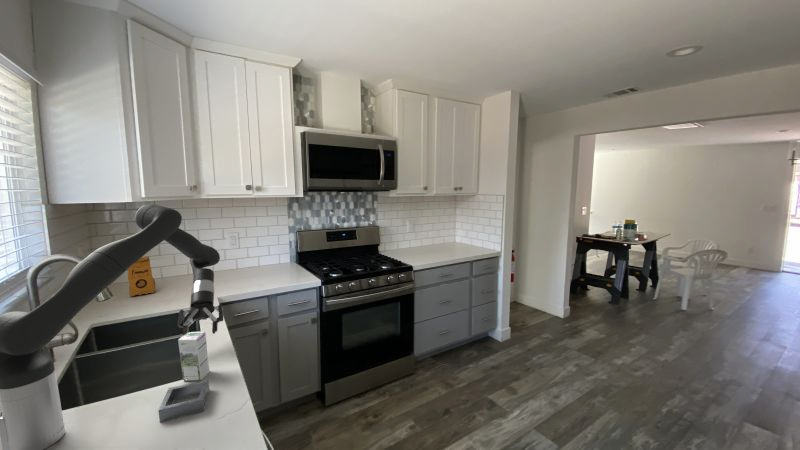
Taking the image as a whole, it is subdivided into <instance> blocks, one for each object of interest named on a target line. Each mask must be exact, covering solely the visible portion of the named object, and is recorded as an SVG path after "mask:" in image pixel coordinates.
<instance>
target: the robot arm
mask: <svg viewBox="0 0 800 450" xmlns="http://www.w3.org/2000/svg"><path fill="white" fill-rule="evenodd" d="M182 216H183V215H181V213H180V212H179V211H178V210H176V209H174V208H172V207H171V208H170V207H166V206H164V205H163V206H162V205H159V204H151V203H150V204H149V203H147V204H144V205H142V206H140V207H139V208H138V210H137V211H136V213H135V216H134V221H135V223H136V226H138V228H139V229H140V231H139V232H137V233H135V234H133V235H129V236H128V237H125V238H121V239H119V240H115V241H113V242H110V243H108V244H104V245H102V246H101V247H99V248H97V249H95V250H94V251H92V252H91V253H90V254H88V256H86V257H85V258H83V259H82V260H80V261H79V262H78V263H77V264H76V265H75V266H74V267H73V268H72V269H71V270H70V272H69V273H68V275H67V276H66V278H65V280H64V282H63V283H62V285H61V286H60V287H59V288H58V290H57V291H56V292H55V293H53V294H52V295H51V296H50V297H49V298H48V299H46V300H45V301H43V302H42V303H41V304H40V305H38V306H37V307H35V308H33V309H32V310H31V311H29V312H27V311H19V310H18V311H17V310H15V311H9V312H4V313H2V314H0V411H1V416H0V444H1V448H2V450H46V449H47V448H49V447H50V446H53V445H54V444H56V443H57V442H58V441H59V440H60V439H62V438H63V436H64V435H65V433H66V429H65V423H64V416H63V410H62V405H61V398H60V392H59V386H58V380H57V374H56V368H55V362H54V360H53V358H52V357H51V356H50V355H49V354H48V353H47V352H46V350H45V349H44V347H45V346H47V345H48V344H49V343H50V342H51V341H52V340H53V339H54V338H56V337H57V335H58V334H59V333H60V332H61V331H63V329H64V328H65V327H66V326H67V325H68V323H70V322H71V321H72V320H73V318H75V316H76V315H78V313H80V312H81V311H82V310H83V308H85V307H86V306H87V305H88V304H89V303H91V302H92V301H93V300H95V298H97V297H98V296H99V295H100V294H101V293H102V292H103V291H104V290H106V289H107V288H108V287H109V286H111V284H112V283H114V282H115V281H116V280H118V279H119V278H120V277H121V276H123V274H124V273H125V272H126V271H128V270H127V269H128V268H130V267H131V266H132V265H133V264H134V263H135V262H136V261H138V260H139V259H140V258H142V257H145V255H146V254H147V253H149V252H150V251H151V250H153V249H154V248H155V247H156V246H158V245H159V244H161V243H162V242H166V243H167V244H169V245H171V246H172V247H174V248H175V249H177V251H179V252H180V253H182V254H183V255H184V256H185V257H187V258H188V259H189V263H190V266H191V269H192V275H193V279H192V286H191V293H190V294H191V295H190V303H189V304H190V306H189V309H188V310H186V309H185V310H184V309H180V310H179V313H178V318H177V326H178V328H180V329H181V328H182V336H183V335H185V334H186V333H188V332H190V328H189V327H190V326H191V325H192V324H194V323H195V321H197V322H198V321H203V320H204V321H205V320H207V319H209V320H210V321H211V322H212V326H211V327H212V328H211V329H212V330H211V332H212V334H213V335H214V334H216V333H217V332H218V326H219V325H218V324H219V323H220V322H223V321H224V308H223V305H222V304H220V303H219V304H218V305H216V306H215V305H214V300H215V299H214V298H215V285H214V282H215V273H214V271H213V270H212V269H211V268H207V267H211V266H215V265H217V264H219V262H220V260H221V256H220V253H219V252H218V250H217V249H215V248H214V247H212V246H210V245H207V244H204V243H202V242H201V241H200V240H198V239H197V237H195V236H194V235H192V234H191V233H189V232H188V231H185V230H183V229H181V228H180V226H181V224H182V220H183V217H182ZM215 311H216V312H218V317H216V316H215V315H214V314H213V313H214V312H215ZM187 315H189V316H188V317H187ZM185 317H187V319H186V320H185ZM184 321H185V322H184Z"/></svg>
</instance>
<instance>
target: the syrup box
mask: <svg viewBox="0 0 800 450" xmlns="http://www.w3.org/2000/svg"><path fill="white" fill-rule="evenodd" d="M177 341H178V348H179V356H180V365H181V374H182V375H181V376H182V381H183V380H184V381H183V382H199V381H203V379H204V378H205V377H206V376H207V375H208V374H209V372H210V365H209V363H210V362H209V354H208V345H207V343H208V342H207V335H206V331H191V332H190V331H189V332H188V333H186V334H185V335H183V334H182V336H181V337H180V338H178V339H177ZM186 379H187V380H186Z"/></svg>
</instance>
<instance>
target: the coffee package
mask: <svg viewBox="0 0 800 450" xmlns="http://www.w3.org/2000/svg"><path fill="white" fill-rule="evenodd" d="M126 271H127V280H128V284H129V287H128V288H129V290H128V291H129V292H128V293H129V296H130V297H136V296H135V295H139V296H143V295H142V294H147V295H149V294H148V293H152V294H155V292H156V291H157V289H156V281H155V279H154V277H153V273H152V272H153V271H152V267H151V260H150V256H142V257H141V258H140V259H139V260H138V261H136V262H135V263H134V264H133V265H132V266H131V267H130V268H128V269H127V270H126ZM155 290H156V291H155ZM154 291H155V292H154Z"/></svg>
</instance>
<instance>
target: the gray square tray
mask: <svg viewBox="0 0 800 450" xmlns="http://www.w3.org/2000/svg"><path fill="white" fill-rule="evenodd" d="M210 390H211V389H210V382H209V379H206V380H205V379H204V380H200V381H194V382H191V383H186V384H181V385H178V386H173V387H172V386H171V387H168V388H167V391H166V392H165V395H164V397H163V400H162V402H161V404H160V406H159V408H158V409H157V410H158V418H159V419H158V420H159V423H162V422H167V421H170V420H174V419H179V418H182V417H187V416H191V415H195V414H199V413H203V412H205V408H206V405H207V401H208V397H209V393H210ZM194 396H198V398H194V399H189V400H187V401H186V400H185V401H181V402H178V403H174V401H177V400H182V399H186V398H190V397H194Z"/></svg>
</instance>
